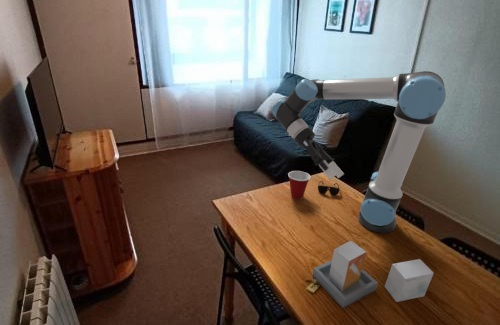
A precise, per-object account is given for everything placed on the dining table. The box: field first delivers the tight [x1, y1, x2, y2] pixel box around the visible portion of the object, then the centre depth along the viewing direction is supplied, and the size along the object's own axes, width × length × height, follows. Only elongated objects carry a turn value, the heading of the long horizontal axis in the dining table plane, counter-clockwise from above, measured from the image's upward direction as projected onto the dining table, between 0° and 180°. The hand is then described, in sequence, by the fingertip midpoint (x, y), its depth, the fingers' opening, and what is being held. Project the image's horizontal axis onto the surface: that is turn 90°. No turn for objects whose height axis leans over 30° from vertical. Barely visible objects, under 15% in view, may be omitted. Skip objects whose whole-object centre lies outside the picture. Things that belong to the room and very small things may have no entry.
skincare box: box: [384, 258, 434, 303], centre depth 94 cm, size 10×6×10 cm, turn 103°
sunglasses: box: [317, 180, 341, 196], centre depth 154 cm, size 10×12×5 cm
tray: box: [312, 259, 379, 309], centre depth 99 cm, size 14×14×4 cm
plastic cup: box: [287, 170, 312, 200], centre depth 145 cm, size 11×11×12 cm
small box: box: [329, 240, 367, 291], centre depth 96 cm, size 8×6×13 cm
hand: (337, 176), depth 108 cm, fingers open, 13 cm apart
